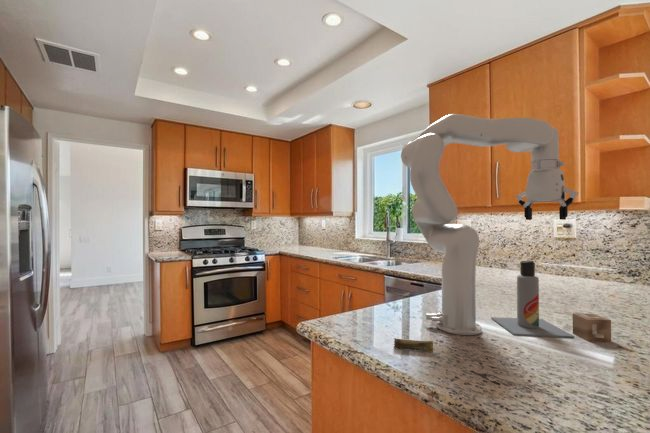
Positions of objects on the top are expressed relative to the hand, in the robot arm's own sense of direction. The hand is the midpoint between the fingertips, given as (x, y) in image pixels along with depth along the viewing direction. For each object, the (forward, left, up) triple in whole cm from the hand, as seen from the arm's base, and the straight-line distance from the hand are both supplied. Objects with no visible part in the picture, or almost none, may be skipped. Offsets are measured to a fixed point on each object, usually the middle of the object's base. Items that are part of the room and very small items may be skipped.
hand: (545, 219), depth 104 cm
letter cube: (+5, -13, -33) cm, 36 cm away
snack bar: (-46, -29, -34) cm, 64 cm away
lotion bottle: (-8, -6, -33) cm, 35 cm away
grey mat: (-8, -6, -33) cm, 35 cm away
